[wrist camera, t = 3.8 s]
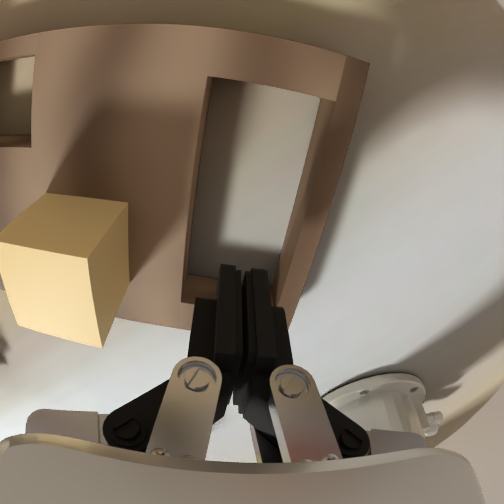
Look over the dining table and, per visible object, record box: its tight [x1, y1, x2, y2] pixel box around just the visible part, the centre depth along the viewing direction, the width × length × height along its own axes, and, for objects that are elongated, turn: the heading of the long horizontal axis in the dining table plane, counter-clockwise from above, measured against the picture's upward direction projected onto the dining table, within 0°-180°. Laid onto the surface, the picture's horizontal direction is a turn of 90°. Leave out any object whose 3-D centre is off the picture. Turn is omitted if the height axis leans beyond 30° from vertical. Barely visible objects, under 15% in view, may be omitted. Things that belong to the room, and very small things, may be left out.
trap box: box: [0, 24, 370, 330], centre depth 12 cm, size 23×15×6 cm, turn 79°
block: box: [0, 193, 130, 348], centre depth 12 cm, size 4×4×4 cm
